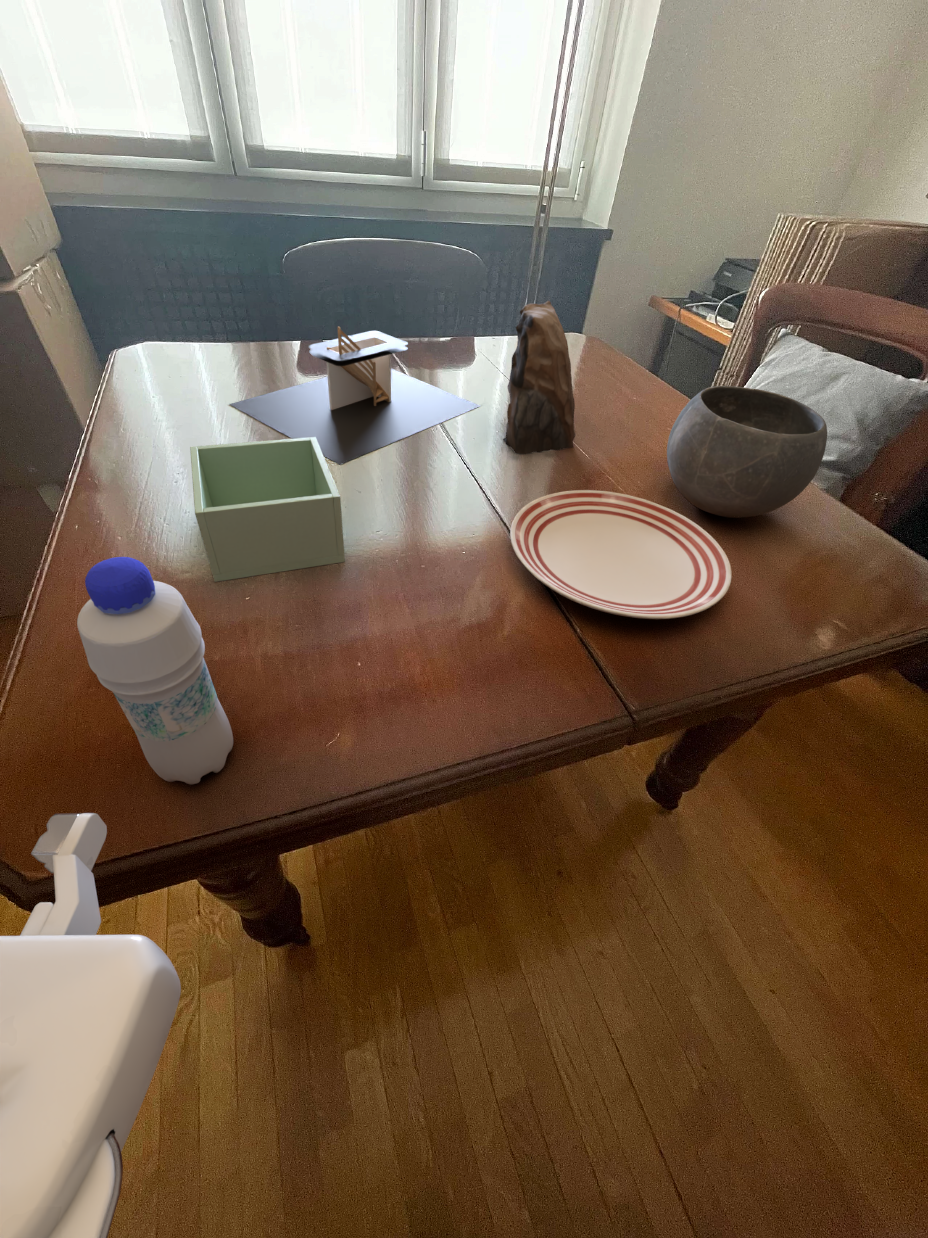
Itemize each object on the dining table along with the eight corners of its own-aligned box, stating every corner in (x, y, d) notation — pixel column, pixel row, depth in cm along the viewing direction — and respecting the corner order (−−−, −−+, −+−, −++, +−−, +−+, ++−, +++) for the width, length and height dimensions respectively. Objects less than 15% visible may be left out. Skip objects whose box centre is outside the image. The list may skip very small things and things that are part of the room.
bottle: (155, 732, 46) (56, 539, 33) (239, 717, 48) (179, 528, 35) (148, 803, 42) (30, 614, 28) (240, 783, 44) (172, 597, 30)
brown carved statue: (512, 457, 89) (534, 323, 75) (478, 424, 97) (492, 298, 83) (576, 448, 94) (607, 320, 80) (538, 417, 102) (560, 296, 88)
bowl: (774, 486, 90) (824, 395, 80) (795, 555, 76) (859, 455, 65) (651, 460, 93) (684, 369, 83) (648, 522, 78) (687, 421, 68)
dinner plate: (475, 517, 75) (478, 496, 73) (640, 496, 84) (647, 476, 81) (571, 660, 57) (578, 638, 55) (768, 614, 66) (782, 593, 63)
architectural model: (339, 464, 82) (332, 366, 72) (229, 404, 94) (210, 312, 84) (481, 405, 103) (490, 323, 94) (376, 362, 115) (375, 285, 105)
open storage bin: (214, 582, 61) (194, 513, 55) (207, 512, 70) (189, 446, 64) (345, 561, 65) (340, 496, 59) (321, 498, 75) (315, 436, 69)
